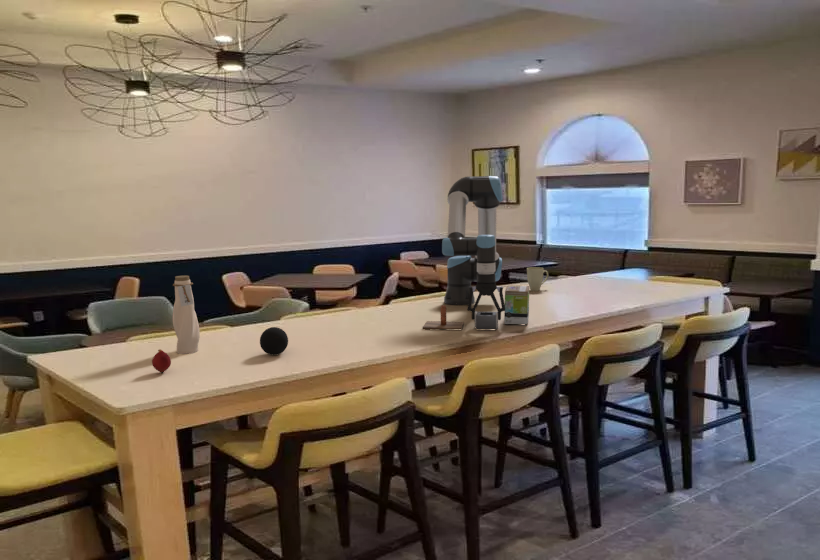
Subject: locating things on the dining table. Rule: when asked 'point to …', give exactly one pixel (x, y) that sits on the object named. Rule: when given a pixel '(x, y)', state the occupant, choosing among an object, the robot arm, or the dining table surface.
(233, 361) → the dining table surface
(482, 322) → the grey square hollow block
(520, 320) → the tea box
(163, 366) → the onion
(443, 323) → the keeper
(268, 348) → the speaker
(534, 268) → the mug
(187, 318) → the water bottle
